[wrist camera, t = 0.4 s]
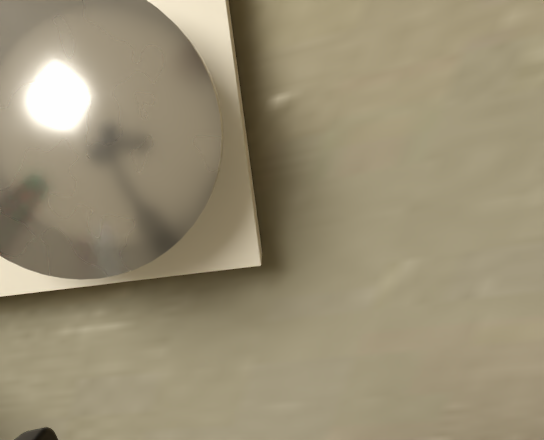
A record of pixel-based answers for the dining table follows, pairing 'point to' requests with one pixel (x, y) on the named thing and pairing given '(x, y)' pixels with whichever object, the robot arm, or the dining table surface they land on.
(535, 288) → the dining table surface
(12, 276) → the kitchen scale
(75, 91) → the scale pan
